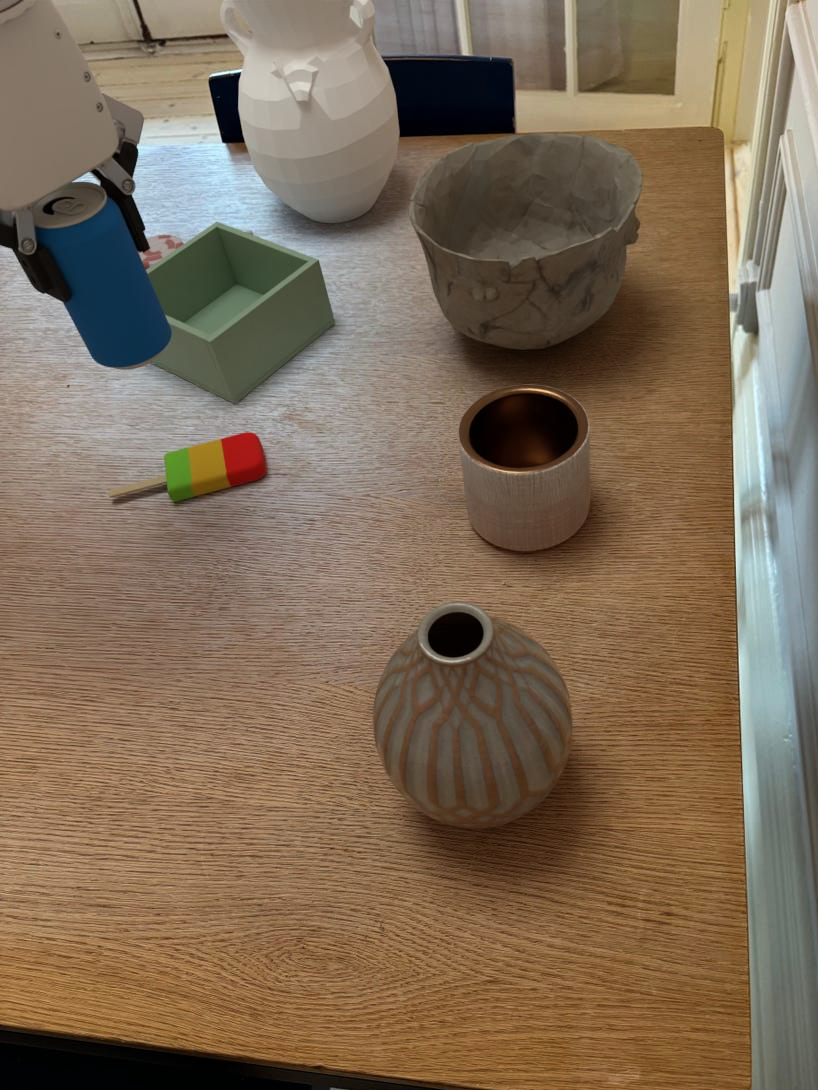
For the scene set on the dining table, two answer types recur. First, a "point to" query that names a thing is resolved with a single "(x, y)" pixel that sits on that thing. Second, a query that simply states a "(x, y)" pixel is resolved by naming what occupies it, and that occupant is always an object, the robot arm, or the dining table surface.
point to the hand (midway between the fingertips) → (96, 268)
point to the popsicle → (206, 468)
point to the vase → (472, 719)
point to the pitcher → (315, 103)
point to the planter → (526, 466)
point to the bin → (237, 309)
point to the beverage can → (102, 276)
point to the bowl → (527, 234)
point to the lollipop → (161, 248)
